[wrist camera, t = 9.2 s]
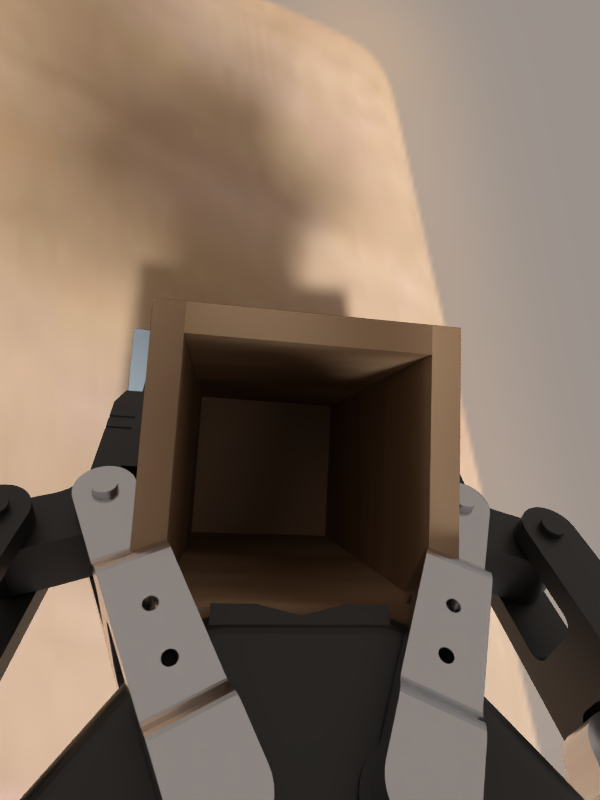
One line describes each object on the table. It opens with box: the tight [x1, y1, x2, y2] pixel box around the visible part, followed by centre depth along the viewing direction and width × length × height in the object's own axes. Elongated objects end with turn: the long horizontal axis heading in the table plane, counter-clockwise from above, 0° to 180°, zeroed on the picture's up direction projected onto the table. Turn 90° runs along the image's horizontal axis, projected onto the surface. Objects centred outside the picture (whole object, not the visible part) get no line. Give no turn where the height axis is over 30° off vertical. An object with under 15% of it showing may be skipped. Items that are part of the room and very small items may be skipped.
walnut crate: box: [130, 298, 461, 625], centre depth 14 cm, size 6×6×10 cm
